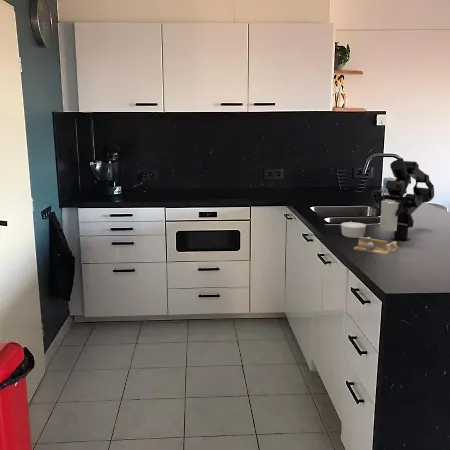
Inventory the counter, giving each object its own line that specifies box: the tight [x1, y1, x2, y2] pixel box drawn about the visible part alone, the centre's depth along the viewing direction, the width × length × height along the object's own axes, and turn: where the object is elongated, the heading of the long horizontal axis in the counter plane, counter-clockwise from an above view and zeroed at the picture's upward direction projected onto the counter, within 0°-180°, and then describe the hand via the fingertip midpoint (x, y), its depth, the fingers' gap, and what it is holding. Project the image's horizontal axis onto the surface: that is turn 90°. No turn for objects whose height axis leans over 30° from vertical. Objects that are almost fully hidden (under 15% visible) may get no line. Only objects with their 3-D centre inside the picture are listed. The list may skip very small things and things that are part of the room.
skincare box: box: [379, 199, 400, 232], centre depth 210 cm, size 6×4×12 cm
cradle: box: [353, 236, 400, 256], centre depth 206 cm, size 14×13×5 cm
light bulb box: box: [382, 177, 396, 194], centre depth 363 cm, size 11×7×11 cm, turn 17°
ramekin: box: [340, 221, 367, 239], centre depth 229 cm, size 11×11×5 cm
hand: (387, 214), depth 209 cm, fingers closed on skincare box, 7 cm apart
